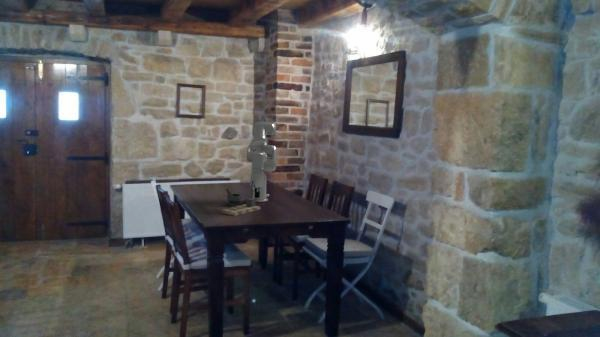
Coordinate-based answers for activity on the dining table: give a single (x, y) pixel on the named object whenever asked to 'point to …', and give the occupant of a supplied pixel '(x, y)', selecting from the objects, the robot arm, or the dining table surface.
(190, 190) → the dining table surface
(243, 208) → the fader board
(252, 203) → the fader knob
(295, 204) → the dining table surface
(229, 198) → the mortar and pestle
